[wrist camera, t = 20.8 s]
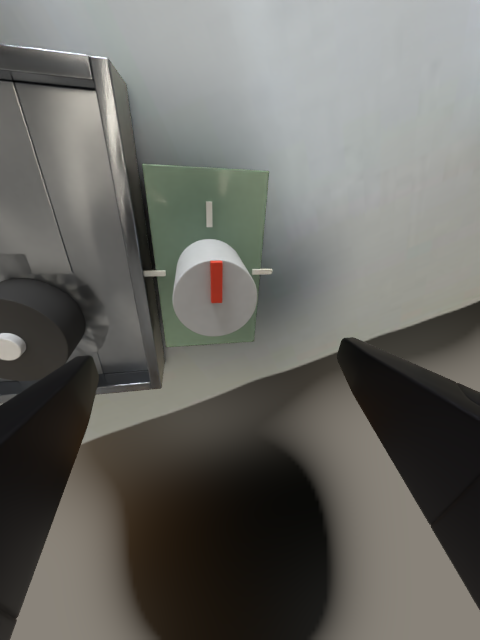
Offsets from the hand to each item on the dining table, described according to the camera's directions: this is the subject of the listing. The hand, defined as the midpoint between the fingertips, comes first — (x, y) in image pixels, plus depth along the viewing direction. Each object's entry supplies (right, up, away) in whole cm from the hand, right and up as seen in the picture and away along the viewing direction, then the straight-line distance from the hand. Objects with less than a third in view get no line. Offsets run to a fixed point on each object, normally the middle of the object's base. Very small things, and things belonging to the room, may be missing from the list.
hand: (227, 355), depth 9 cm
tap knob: (-2, +4, +8) cm, 9 cm away
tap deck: (-2, +6, +10) cm, 12 cm away
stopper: (-14, +2, +10) cm, 17 cm away
